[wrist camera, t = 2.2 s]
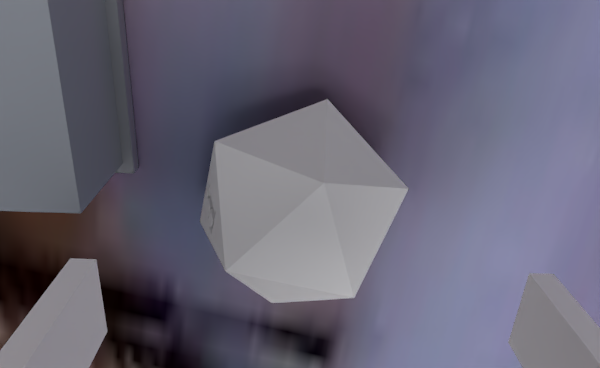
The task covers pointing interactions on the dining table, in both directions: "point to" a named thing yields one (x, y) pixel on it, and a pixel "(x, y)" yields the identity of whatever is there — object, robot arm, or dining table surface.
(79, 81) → the slate block
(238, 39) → the dining table surface
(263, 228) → the die
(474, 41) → the dining table surface
